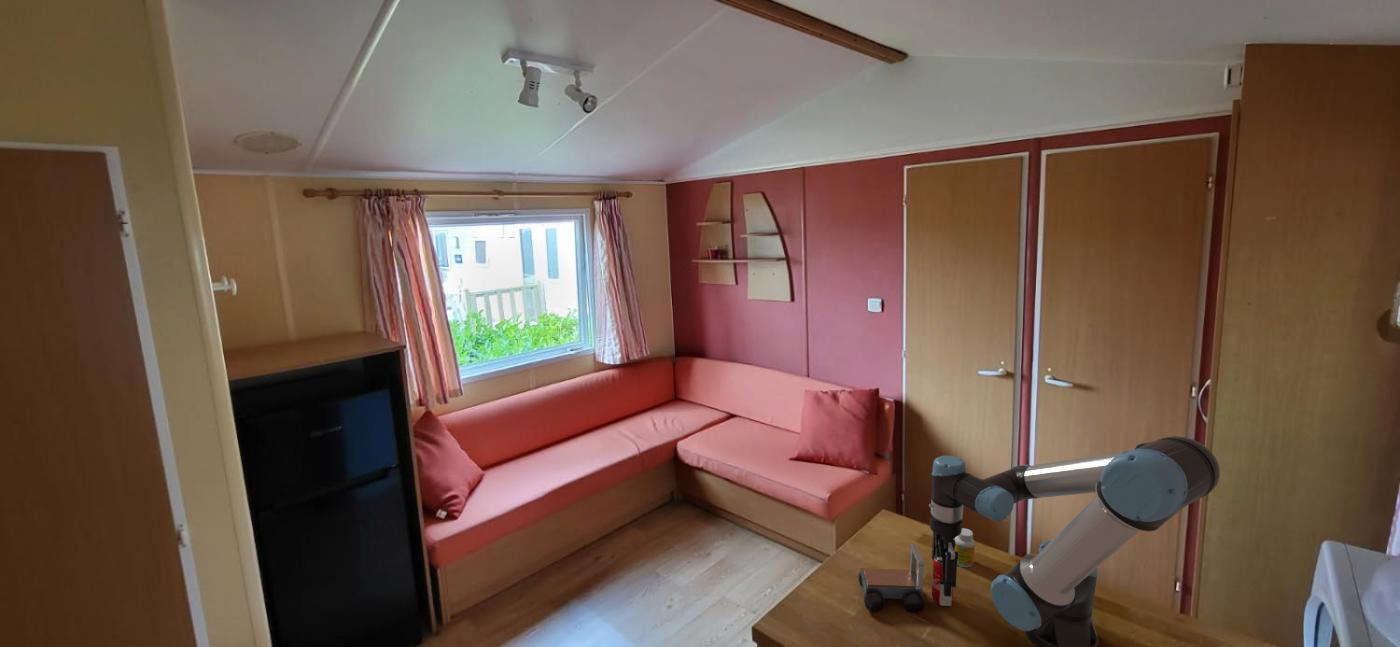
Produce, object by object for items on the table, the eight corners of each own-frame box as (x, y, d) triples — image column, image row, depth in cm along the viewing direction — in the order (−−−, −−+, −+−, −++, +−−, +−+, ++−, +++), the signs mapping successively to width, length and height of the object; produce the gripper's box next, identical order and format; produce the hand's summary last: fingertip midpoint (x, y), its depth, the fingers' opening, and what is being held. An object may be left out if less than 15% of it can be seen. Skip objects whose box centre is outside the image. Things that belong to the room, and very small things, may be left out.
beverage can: (954, 607, 156) (956, 565, 153) (933, 605, 157) (935, 563, 154) (950, 594, 161) (952, 553, 158) (929, 592, 162) (931, 552, 159)
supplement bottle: (954, 566, 173) (956, 535, 171) (952, 555, 178) (954, 525, 176) (974, 569, 171) (976, 538, 169) (972, 558, 176) (974, 528, 174)
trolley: (914, 586, 165) (916, 540, 162) (924, 613, 154) (927, 565, 151) (857, 584, 166) (859, 539, 163) (864, 611, 156) (866, 563, 153)
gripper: (921, 498, 163) (918, 575, 168) (941, 535, 145) (937, 620, 150) (950, 498, 162) (946, 576, 167) (974, 536, 145) (968, 621, 149)
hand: (942, 597), depth 159 cm, fingers closed on beverage can, 5 cm apart
